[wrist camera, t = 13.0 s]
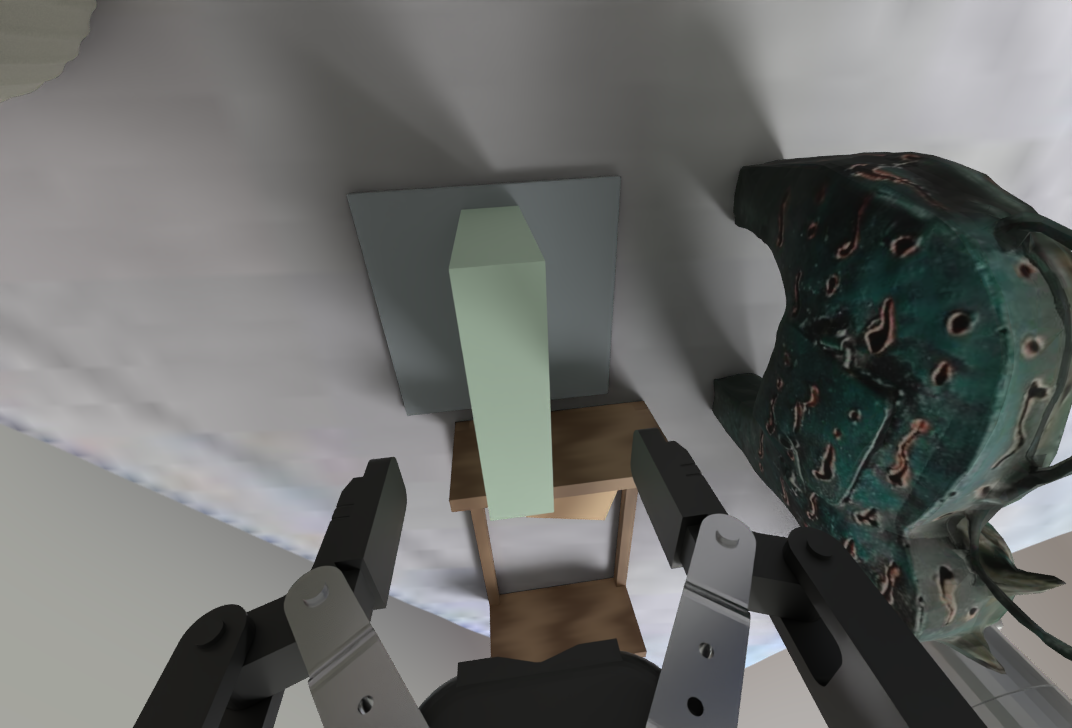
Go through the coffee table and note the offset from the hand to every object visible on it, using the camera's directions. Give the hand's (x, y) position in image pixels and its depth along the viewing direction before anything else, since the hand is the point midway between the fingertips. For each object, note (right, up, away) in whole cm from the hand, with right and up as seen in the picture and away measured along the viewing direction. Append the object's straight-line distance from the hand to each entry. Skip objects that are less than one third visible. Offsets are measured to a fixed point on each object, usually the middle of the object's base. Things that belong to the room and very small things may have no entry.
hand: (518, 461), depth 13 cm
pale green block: (-1, +6, +10) cm, 12 cm away
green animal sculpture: (+14, +7, +13) cm, 21 cm away
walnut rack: (+2, -10, +22) cm, 24 cm away
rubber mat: (-2, +7, +11) cm, 13 cm away
